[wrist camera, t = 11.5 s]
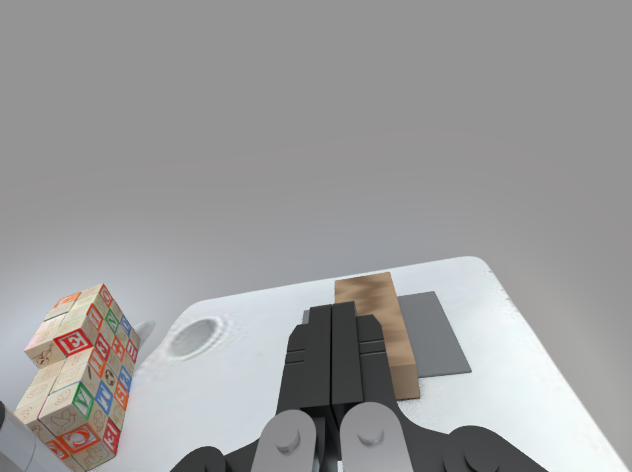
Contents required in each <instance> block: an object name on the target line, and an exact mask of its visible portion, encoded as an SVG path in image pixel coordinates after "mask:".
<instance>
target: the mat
mask: <svg viewBox="0 0 632 472" xmlns="http://www.w3.org/2000/svg"><path fill="white" fill-rule="evenodd" d="M397 299H398V303H399V306H400V310H401V313H402V317H403V320H404V324H405V327H406V331H407V334H408V338H409V341H410V345H411V348H412V352H413V355H414V359H415V362H416V368H417V376H418V378H424V377H433V376H442V375H451V374H460V373H469V372H472V370H471V368H470V366H469V364H468V362H467V359H466V357H465V355H464V353H463V351H462V349H461V347H460V345H459V343H458V340H457V338H456V336H455V334H454V332H453V330H452V328H451V326H450V323H449V321H448V319H447V317H446V315H445V313H444V311H443V309H442V306H441V304H440V302H439V300H438V298H437V296H436V294H435V292H434V291H431V292H425V293H418V294H412V295H405V296H398V297H397ZM309 311H310V310H306V311H304V314H303V322H302V324H307V323H308V320H309Z"/></svg>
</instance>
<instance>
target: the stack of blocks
mask: <svg viewBox="0 0 632 472" xmlns="http://www.w3.org/2000/svg"><path fill="white" fill-rule="evenodd" d="M139 344H140V338H139V337H138V335H137V334H136V332H135V331H134V329H133V328H132V327H131V325H130V324H129V322H128V321H127V320H126V318H125V316H124V314H123V313H122V311H121V309H120V308H119V306H118V304H117V303H116V301H115V300H114V299H113V298H112V296H111V294H110V293H109V291H108V290H107V288H106V286H105V285H104V284H103V283H102V284H99V285H96V286H94V287H91V288H88V289H85V290H83V291H82V292H78V293H75V294H73V295H70V296H67V297H65V298H62V299H60V300H59V301H58V303H57V304H56V305H55V307H54V308H53V309H52V310H50V312H49V313H48V315H47V316H46V318H45V319H44V322H43V323H42V324H41V325H40V327H39V329H38V330H37V331H36V333H35V334H34V337H33V338H32V339H31V341H30V342H29V344H28V345H27V347H26V348H25V350H24V352H25V353H26V354H27V356H28V357H29V358H30V359H31V360H32V361H33V363H34V364H35V365H36V366H37V367H38V368H39V371H38V373H37V374H36V376H35V378H34V380H33V381H32V383H31V385H30V387H29V388H28V389H27V391H26V393H25V395H24V396H23V398H22V399H21V401H20V403H19V405H18V406H17V408H16V411H15V413H14V414H15V415H16V416H17V417H18V418H19V419H20V420H21V421H22V422H23V423H24V424H25V425H26V426H27V427H28V428H29V429H30V430H32V431H33V432H34V433H35V434H36V435H37V436H38V437H39V438H40V439H41V440H42V441H43V442H44V443H45V444H46V445H47V446H48V447H49V448H50V449H51V450H52V451H54V452H55V453H56V454H57V455H58V456H59V457H60V458H61V459H62V460H63V461H64V462H65V463H66V464H67V465H68V466H69V467H70V468H71V469H72V470H73V471H74V472H85V471H88V470H90V469H92V468H94V467H96V466H98V465H100V464H102V463H104V462H106V461H108V460H110V459H111V458H113V457H115V456H116V452H117V446H118V441H119V436H120V432H121V430H122V425H123V420H124V416H125V410H126V406H127V402H128V397H129V394H128V393H129V390H130V384H131V380H132V374H133V369H134V364H135V362H136V358H137V354H138V353H137V352H138V348H139Z"/></svg>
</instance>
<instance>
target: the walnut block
mask: <svg viewBox="0 0 632 472" xmlns="http://www.w3.org/2000/svg"><path fill="white" fill-rule="evenodd" d="M348 301H355V305H356V309H357V314H358V316H363V315H370V314H373V315H374V316H375V318H376V319H377V320H378V321H379V323H380V324H381V326H382V331H383V336H384V341H385V346H386V352H387V357H388V362H389V367H390V372H391V378H392V383H393V388H394V393H395V398H396V400H398V399H408V398H417V397H420V391H419V383H418V376H417V368H416V362H415V359H414V355H413V352H412V348H411V345H410V341H409V338H408V334H407V331H406V327H405V324H404V320H403V317H402V313H401V310H400V306H399V303H398V299H397V296H396V292H395V289H394V285H393V282H392V278H391V275H390V272H385V273H379V274H373V275H367V276H361V277H355V278H349V279H342V280H336V281H335V303H342V302H348Z"/></svg>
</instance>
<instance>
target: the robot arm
mask: <svg viewBox="0 0 632 472" xmlns="http://www.w3.org/2000/svg"><path fill="white" fill-rule="evenodd" d="M337 461H342V463H343V472H548V471H547V470H546V469H544V468H543V467H541V466H540V465H539V464H537V463H536V462H535V461H533V460H532V459H531V458H529V457H528V456H527V455H525V454H524V453H523V452H521V451H520V450H518V449H517V448H516V447H514V446H513V445H512V444H510V443H509V442H508V441H506V440H505V439H504V438H502V437H501V436H499V435H498V434H496V433H495V432H493V431H491V430H489V429H486V428H483V427H479V426H470V425H468V426H462V427H459V428H457V429H455V430H453V431H452V432H451V433H450V434H449V435H448V434H444V433H440V432H436V431H433V430H429V429H425V428H422V427H420V426H418V425H416V424H414V423H413V422H411V421H410V420H409V419H408V418H407V417H406V416H405V415H404V414H403V413H402V412H401V410H400V408H399V407H398V404H397V402H396V398H395V393H394V388H393V383H392V378H391V372H390V367H389V362H388V357H387V352H386V346H385V341H384V336H383V331H382V326H381V324H380V323H379V321H378V320H377V319H376V318H375V316H374V315H373V314H370V315H363V316H358V314H357V309H356V305H355V301H348V302H342V303H335V304H333V306H332V304H329V305H322V306H316V307H310V311H309V320H308V323H307V324H300V325H297V326H296V327H295V329H294V330H293V332H292V334H291V335H290V337H289V341H288V346H287V354H286V358H285V366H284V370H283V376H282V382H281V387H280V393H279V399H278V405H277V411H276V415H275V417H273V418H272V419H271V420H270V421H269V422H268V423H267V425H266V426H265V428H264V429H263V431H262V433H261V436H260V438H259V439H257V440H256V441H254V442H253V443H251V444H249V445H247V446H245V447H242V448H240V449H238V450H236V451H233V452H231V453H229V454H227V455H225V456H223V454H222V453H221V451H220V450H218V449H217V448H215V447H211V446H205V447H200V448H198V449H195V450H194V451H192V452H190V453H189V454H188V455H186V456H185V457H184V458H183V459H182V460H181V461H180V462H179V463H178V464H177V465H176V466H175V467H174V468H173V469H172V470H171V471H170V472H338V470H337ZM0 472H74V471H73V470H72V469H71V468H70V467H69V466H68V465H67V464H66V463H65V462H64V461H63V460H62V459H61V458H60V457H59V456H58V455H57V454H56V453H55V452H54V451H52V450H51V449H50V448H49V447H48V446H47V445H46V444H45V443H44V442H43V441H42V440H41V439H40V438H39V437H38V436H37V435H36V434H35V433H34V432H33V431H32V430H30V429H29V428H28V427H27V426H26V425H25V424H24V423H23V422H22V421H21V420H20V419H19V418H18V417H17V416H16V415H15V414H14V413H12V411H11V410H10V409H9V408H7V407H6V406H5V405H4V404H3V403H2V402H1V401H0Z"/></svg>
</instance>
